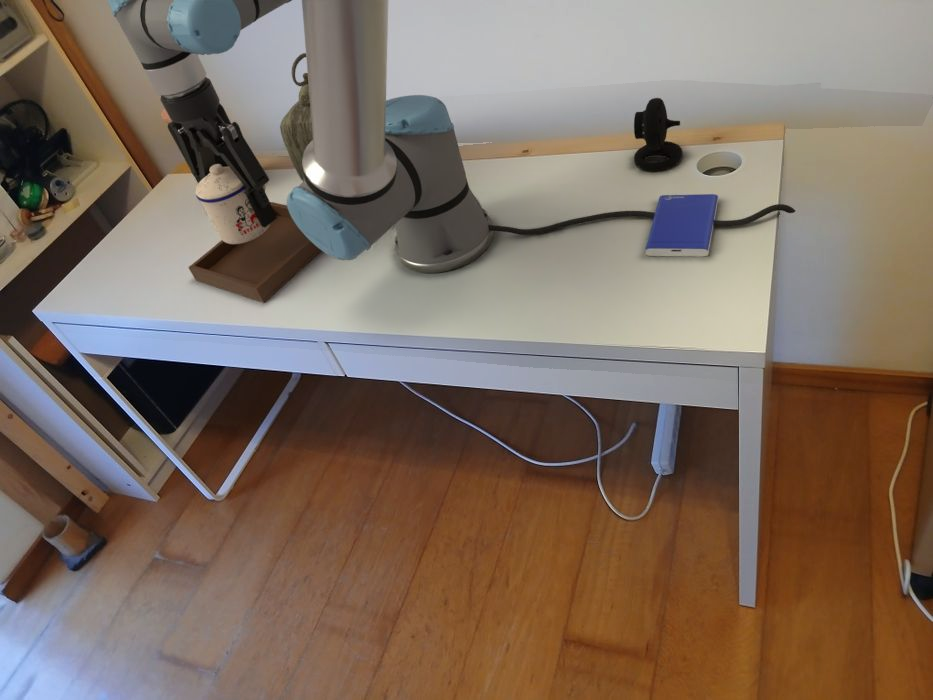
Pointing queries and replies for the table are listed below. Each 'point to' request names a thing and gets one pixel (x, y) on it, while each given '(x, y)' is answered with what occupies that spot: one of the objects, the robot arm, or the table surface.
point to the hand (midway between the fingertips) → (250, 217)
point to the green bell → (298, 123)
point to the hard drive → (682, 225)
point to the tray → (258, 259)
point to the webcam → (655, 137)
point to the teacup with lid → (229, 206)
